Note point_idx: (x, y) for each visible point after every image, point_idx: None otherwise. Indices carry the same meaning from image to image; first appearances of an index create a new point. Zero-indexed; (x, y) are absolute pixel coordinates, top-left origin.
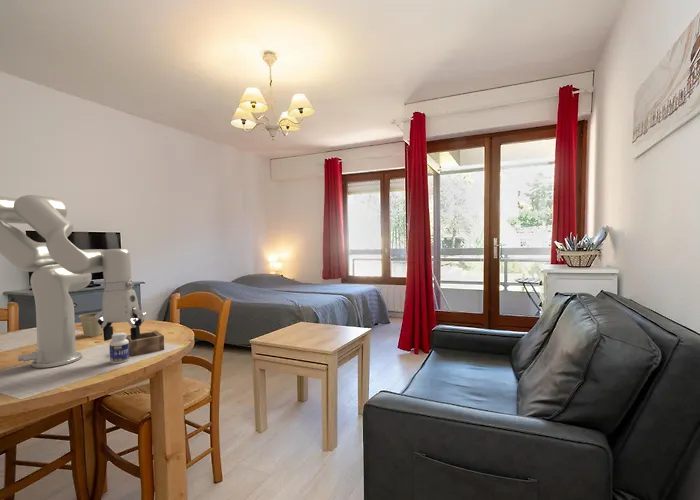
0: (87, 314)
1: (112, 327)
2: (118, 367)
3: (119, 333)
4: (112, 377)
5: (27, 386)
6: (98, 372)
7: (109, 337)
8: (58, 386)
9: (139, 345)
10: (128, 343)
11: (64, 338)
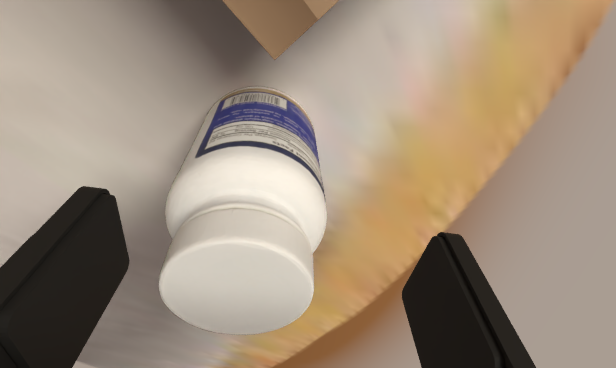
0: None
1: (14, 316)
2: None
3: (218, 275)
4: (362, 302)
5: (121, 348)
6: None
7: (113, 249)
8: (227, 347)
9: None
10: (324, 195)
11: None
